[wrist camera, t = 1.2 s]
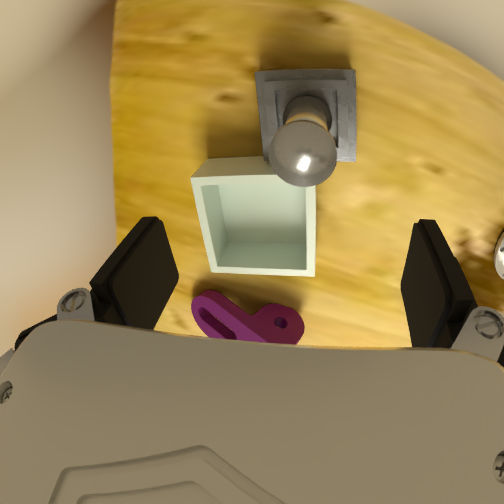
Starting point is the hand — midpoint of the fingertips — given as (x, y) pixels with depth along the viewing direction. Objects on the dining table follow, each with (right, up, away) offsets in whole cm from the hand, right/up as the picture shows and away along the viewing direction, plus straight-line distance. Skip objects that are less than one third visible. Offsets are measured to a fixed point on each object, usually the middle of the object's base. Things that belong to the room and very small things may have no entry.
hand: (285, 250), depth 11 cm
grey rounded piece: (+4, +14, +18) cm, 23 cm away
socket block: (+5, +15, +20) cm, 26 cm away
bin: (0, +6, +29) cm, 29 cm away
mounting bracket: (-2, -10, +42) cm, 44 cm away
